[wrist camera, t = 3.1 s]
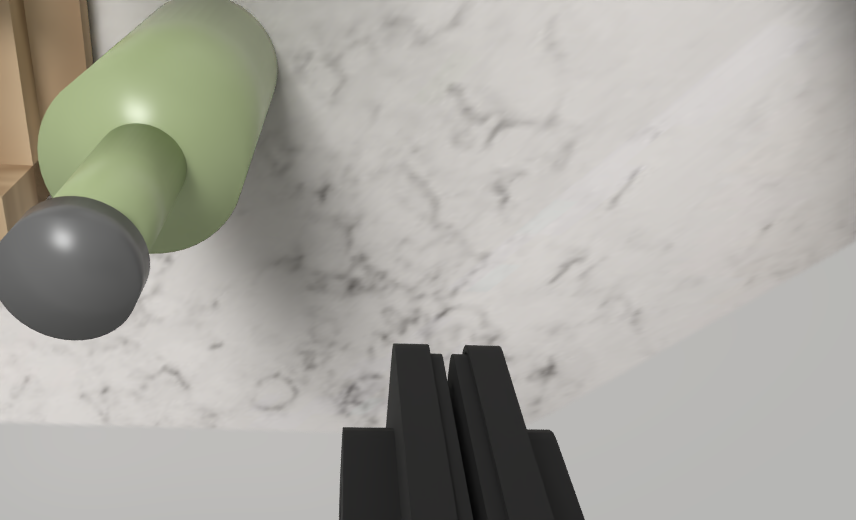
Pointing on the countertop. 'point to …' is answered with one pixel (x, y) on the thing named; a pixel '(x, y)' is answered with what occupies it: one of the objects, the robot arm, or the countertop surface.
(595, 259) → the countertop surface
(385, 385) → the countertop surface
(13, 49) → the rest
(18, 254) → the bottle
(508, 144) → the countertop surface
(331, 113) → the countertop surface
